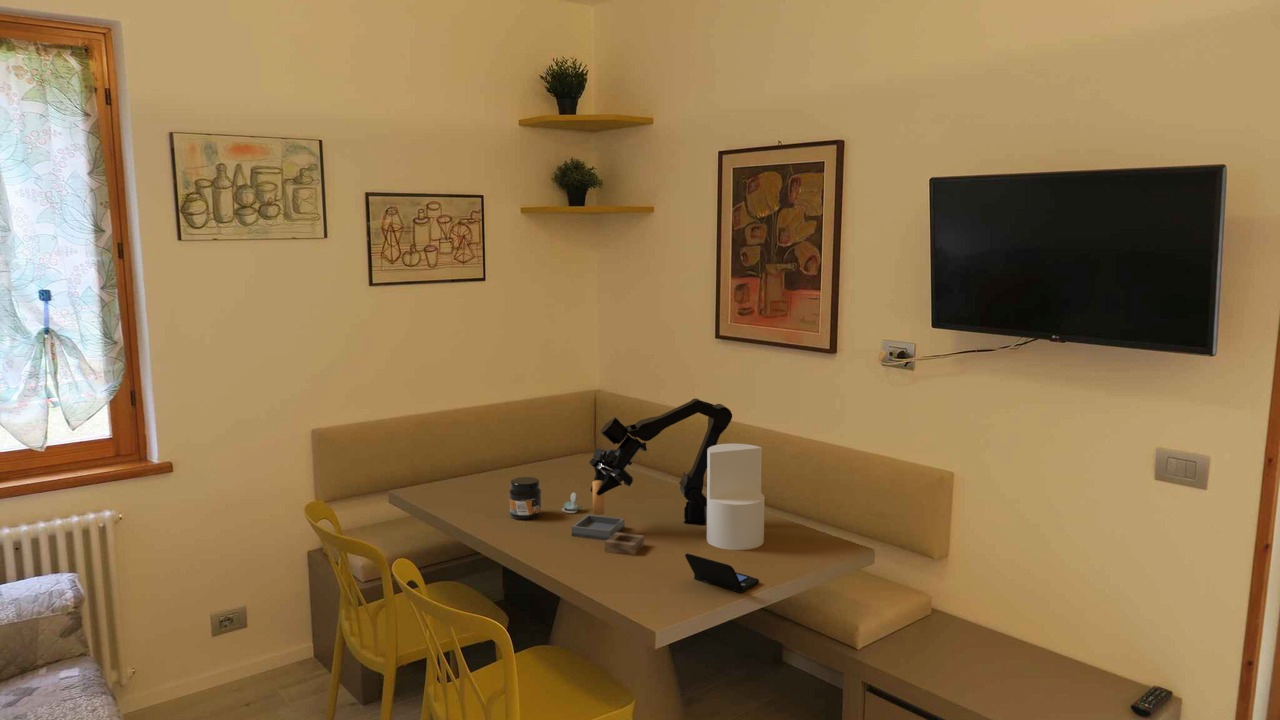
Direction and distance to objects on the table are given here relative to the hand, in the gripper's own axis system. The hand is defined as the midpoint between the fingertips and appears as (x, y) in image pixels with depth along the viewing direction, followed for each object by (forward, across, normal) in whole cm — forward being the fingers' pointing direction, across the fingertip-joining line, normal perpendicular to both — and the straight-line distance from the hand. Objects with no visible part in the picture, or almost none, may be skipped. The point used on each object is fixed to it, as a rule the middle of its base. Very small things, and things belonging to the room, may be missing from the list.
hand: (594, 493), depth 274 cm
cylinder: (-14, +29, +32) cm, 45 cm away
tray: (+8, 0, +10) cm, 13 cm away
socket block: (+9, +17, +9) cm, 21 cm away
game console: (+3, +54, +16) cm, 56 cm away
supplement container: (+17, -27, +1) cm, 32 cm away
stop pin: (+4, 0, +6) cm, 7 cm away
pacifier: (+6, -24, +12) cm, 27 cm away
